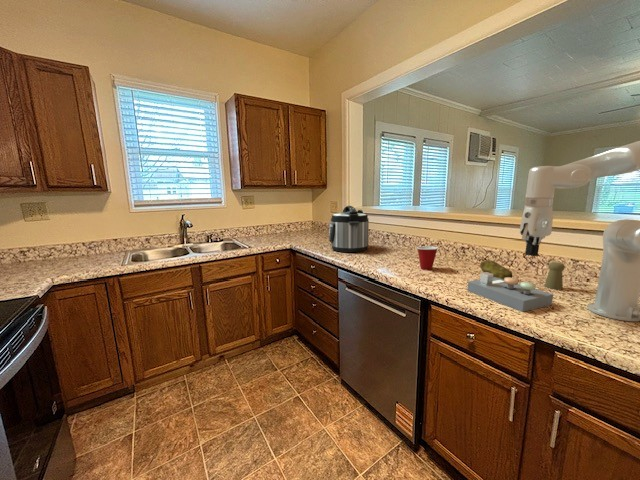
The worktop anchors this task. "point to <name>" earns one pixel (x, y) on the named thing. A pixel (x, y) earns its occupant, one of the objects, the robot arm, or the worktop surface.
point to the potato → (495, 269)
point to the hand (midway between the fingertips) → (531, 255)
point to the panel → (510, 295)
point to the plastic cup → (426, 256)
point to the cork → (555, 276)
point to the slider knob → (486, 278)
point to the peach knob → (510, 282)
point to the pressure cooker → (349, 230)
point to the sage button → (527, 287)
